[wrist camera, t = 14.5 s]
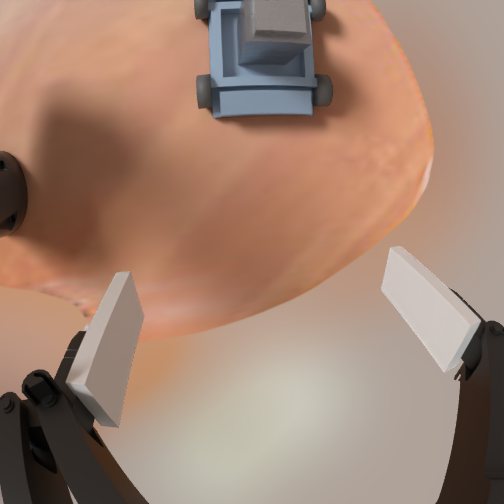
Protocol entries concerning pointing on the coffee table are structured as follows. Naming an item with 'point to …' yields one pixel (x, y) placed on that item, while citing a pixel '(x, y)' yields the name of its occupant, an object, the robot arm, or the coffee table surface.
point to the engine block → (272, 31)
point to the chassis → (256, 71)
